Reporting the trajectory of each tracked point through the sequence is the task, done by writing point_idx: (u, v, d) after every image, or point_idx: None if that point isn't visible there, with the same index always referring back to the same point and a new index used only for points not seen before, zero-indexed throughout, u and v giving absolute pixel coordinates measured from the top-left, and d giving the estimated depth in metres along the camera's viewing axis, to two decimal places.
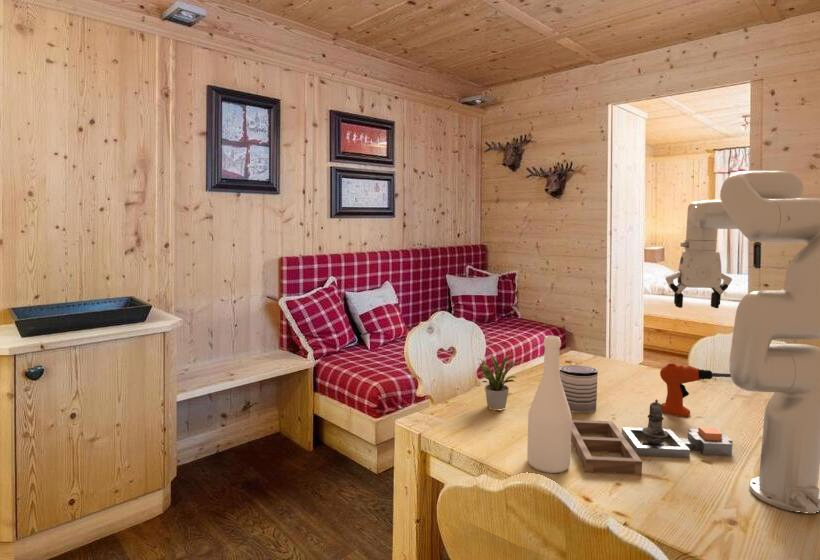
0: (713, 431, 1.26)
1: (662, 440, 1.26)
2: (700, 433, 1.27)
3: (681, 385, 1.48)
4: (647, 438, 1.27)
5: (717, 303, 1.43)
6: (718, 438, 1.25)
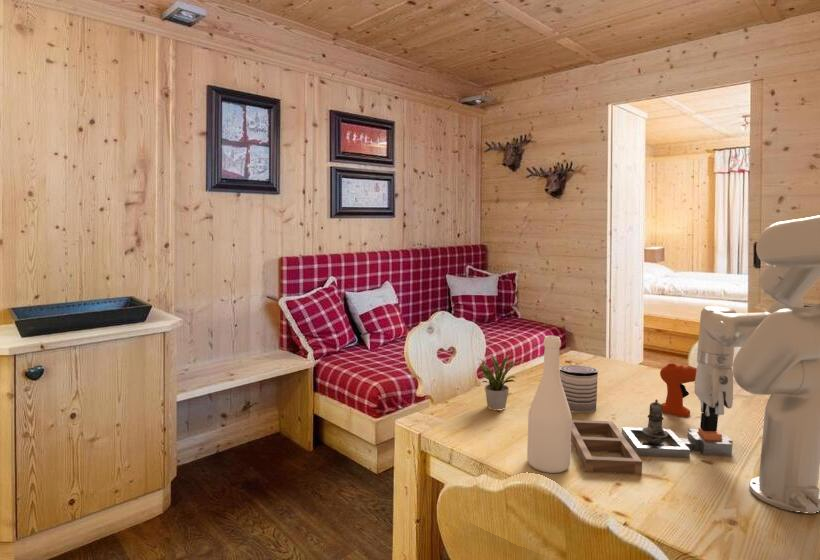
0: (713, 432, 1.26)
1: (662, 440, 1.26)
2: (700, 434, 1.27)
3: (681, 385, 1.48)
4: (647, 438, 1.27)
5: None
6: (718, 439, 1.25)
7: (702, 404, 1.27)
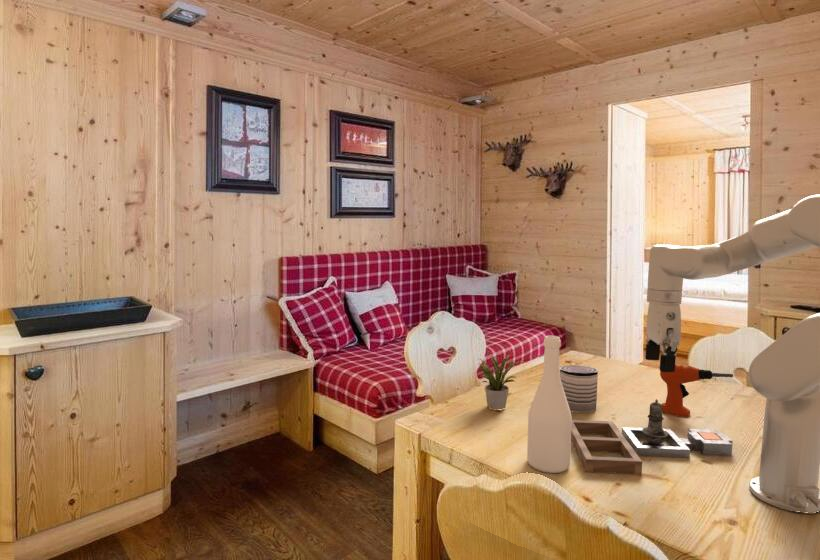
0: (713, 437, 1.26)
1: (662, 440, 1.26)
2: None
3: (681, 385, 1.48)
4: (647, 438, 1.27)
5: (659, 354, 1.30)
6: None
7: (648, 338, 1.30)
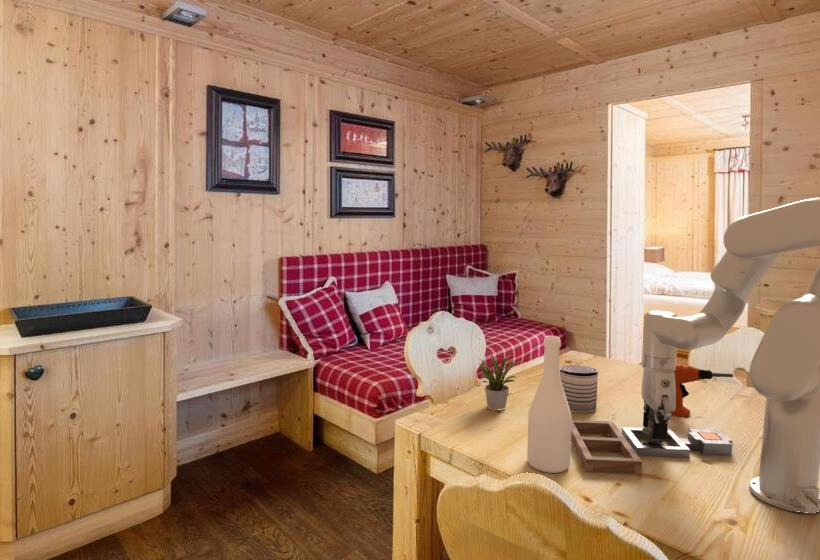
0: (713, 437, 1.26)
1: (662, 440, 1.26)
2: None
3: (681, 385, 1.48)
4: (647, 438, 1.27)
5: None
6: None
7: (645, 404, 1.30)
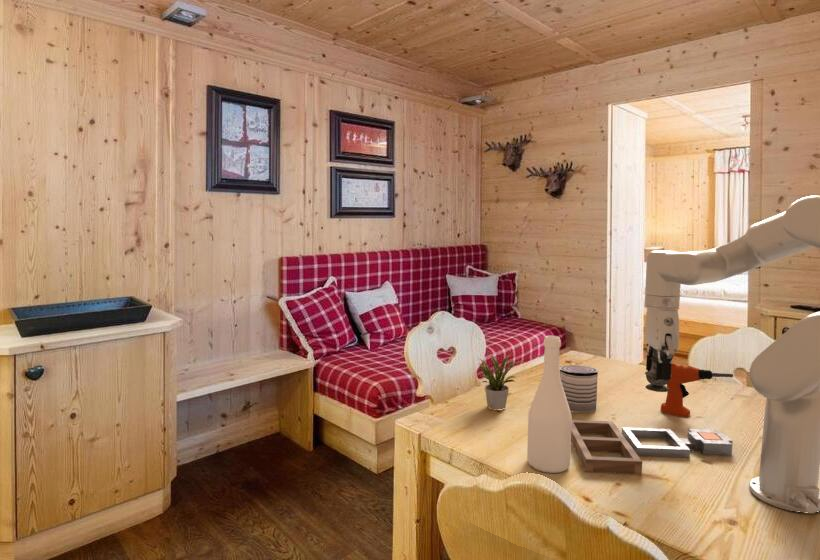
0: (713, 437, 1.26)
1: (665, 381, 1.24)
2: None
3: (681, 385, 1.48)
4: (650, 380, 1.25)
5: None
6: None
7: (648, 348, 1.29)
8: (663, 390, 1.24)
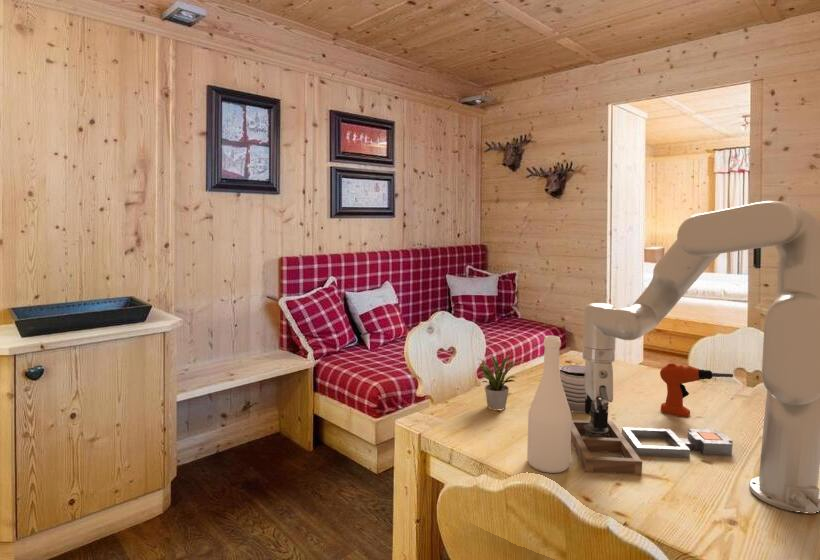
0: (713, 437, 1.26)
1: (602, 436, 1.28)
2: None
3: (681, 385, 1.48)
4: (588, 434, 1.29)
5: None
6: None
7: (587, 393, 1.34)
8: None
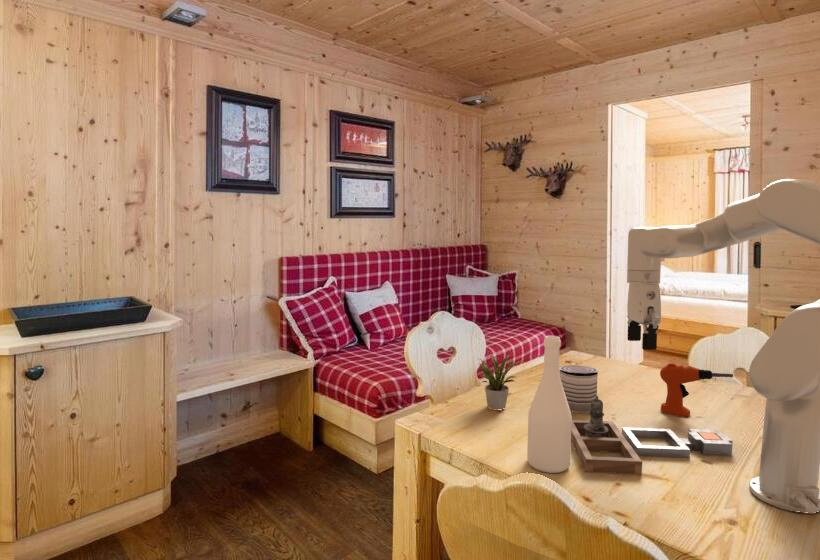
0: (713, 437, 1.26)
1: (602, 436, 1.28)
2: None
3: (681, 385, 1.48)
4: (588, 434, 1.29)
5: (640, 335, 1.34)
6: None
7: (630, 319, 1.33)
8: None
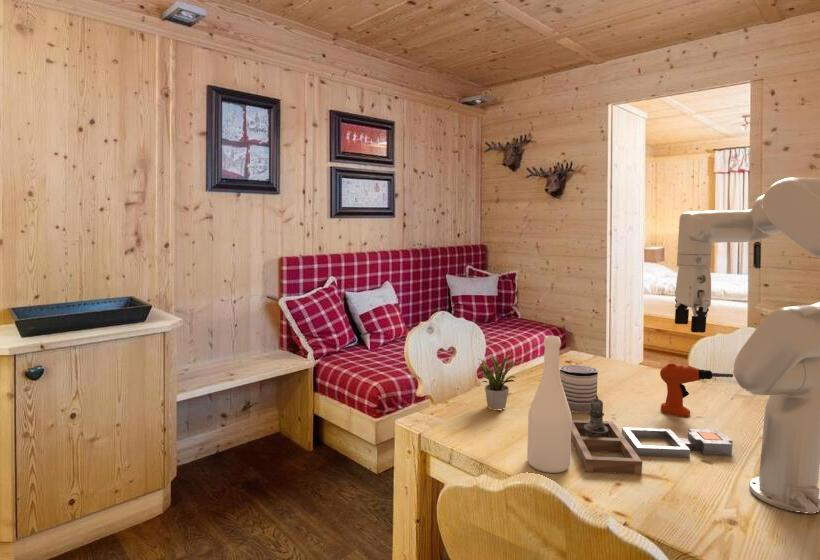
0: (713, 437, 1.26)
1: (602, 436, 1.28)
2: None
3: (681, 385, 1.48)
4: (588, 434, 1.29)
5: None
6: None
7: (677, 303, 1.36)
8: None
